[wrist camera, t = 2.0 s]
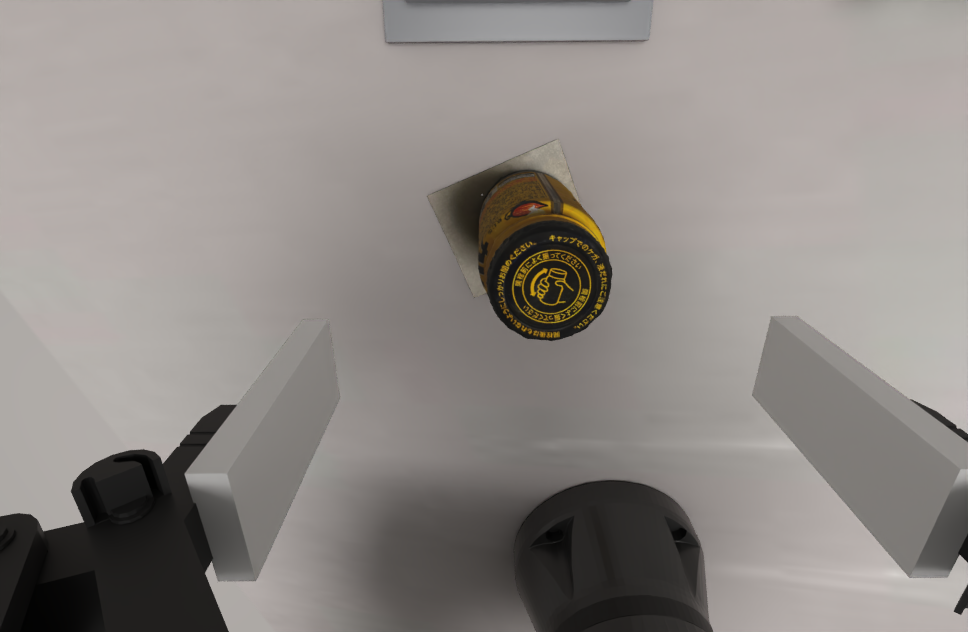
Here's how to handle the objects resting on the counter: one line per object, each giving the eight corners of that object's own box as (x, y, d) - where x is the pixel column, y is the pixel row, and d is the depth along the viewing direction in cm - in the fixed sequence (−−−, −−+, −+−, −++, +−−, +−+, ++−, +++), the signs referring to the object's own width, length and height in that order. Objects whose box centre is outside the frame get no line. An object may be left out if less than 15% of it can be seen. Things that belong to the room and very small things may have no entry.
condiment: (595, 249, 33) (652, 329, 22) (474, 297, 34) (469, 395, 23) (557, 138, 30) (600, 166, 19) (427, 194, 31) (397, 251, 20)
